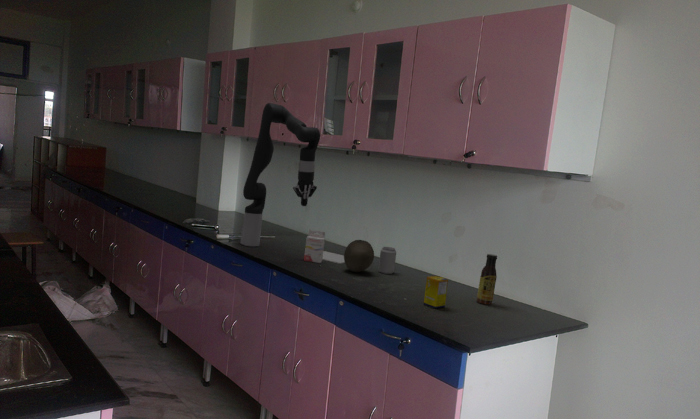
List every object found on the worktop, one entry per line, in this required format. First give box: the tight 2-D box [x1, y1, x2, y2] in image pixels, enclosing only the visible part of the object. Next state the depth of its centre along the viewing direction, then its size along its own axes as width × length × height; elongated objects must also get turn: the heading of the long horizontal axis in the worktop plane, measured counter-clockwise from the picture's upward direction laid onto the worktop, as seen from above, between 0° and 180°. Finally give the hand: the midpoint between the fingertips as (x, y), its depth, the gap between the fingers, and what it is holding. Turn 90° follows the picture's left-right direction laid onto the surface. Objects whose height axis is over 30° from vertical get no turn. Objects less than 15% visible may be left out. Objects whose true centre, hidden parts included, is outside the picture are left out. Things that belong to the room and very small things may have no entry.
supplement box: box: [423, 275, 449, 309], centre depth 204 cm, size 6×6×11 cm
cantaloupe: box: [343, 239, 375, 273], centre depth 247 cm, size 14×14×15 cm
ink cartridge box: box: [303, 229, 326, 264], centre depth 262 cm, size 9×5×15 cm, turn 84°
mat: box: [303, 250, 345, 265], centre depth 276 cm, size 22×18×1 cm
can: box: [377, 246, 397, 275], centre depth 254 cm, size 8×8×12 cm
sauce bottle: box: [476, 253, 498, 306], centre depth 216 cm, size 7×6×20 cm
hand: (303, 205), depth 257 cm, fingers closed
